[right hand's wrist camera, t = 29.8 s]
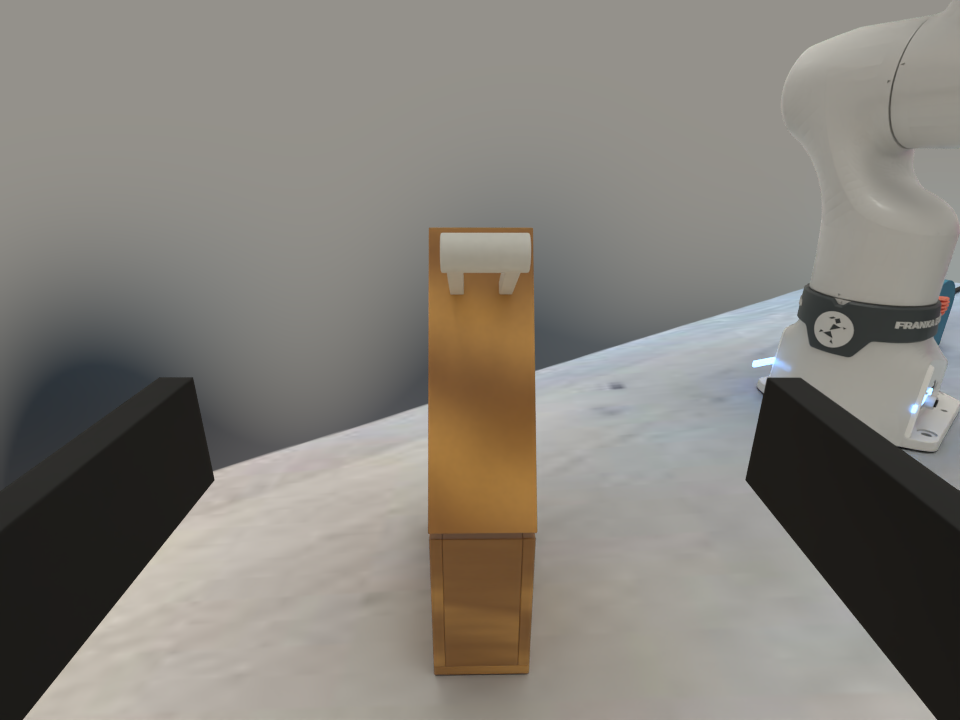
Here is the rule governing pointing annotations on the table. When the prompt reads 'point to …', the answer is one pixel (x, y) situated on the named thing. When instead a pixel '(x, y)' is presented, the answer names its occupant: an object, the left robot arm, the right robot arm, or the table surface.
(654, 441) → the table surface
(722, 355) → the table surface
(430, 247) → the lid
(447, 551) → the chest
